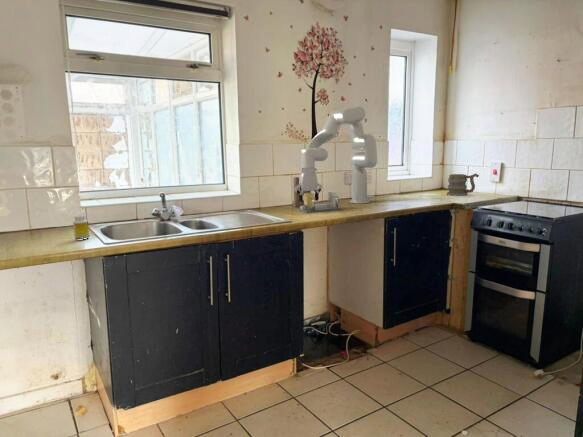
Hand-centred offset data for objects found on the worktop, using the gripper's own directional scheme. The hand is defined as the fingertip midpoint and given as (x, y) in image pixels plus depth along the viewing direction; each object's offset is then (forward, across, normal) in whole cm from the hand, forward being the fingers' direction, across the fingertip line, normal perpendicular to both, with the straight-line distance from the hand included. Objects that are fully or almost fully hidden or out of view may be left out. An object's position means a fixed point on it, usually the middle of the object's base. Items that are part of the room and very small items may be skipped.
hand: (308, 201), depth 250 cm
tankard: (+6, -120, -5) cm, 120 cm away
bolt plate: (+6, -6, +1) cm, 8 cm away
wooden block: (+6, -4, -18) cm, 19 cm away
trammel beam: (+4, -6, +2) cm, 7 cm away
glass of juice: (+6, +117, +19) cm, 119 cm away
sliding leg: (+4, 0, +2) cm, 5 cm away
